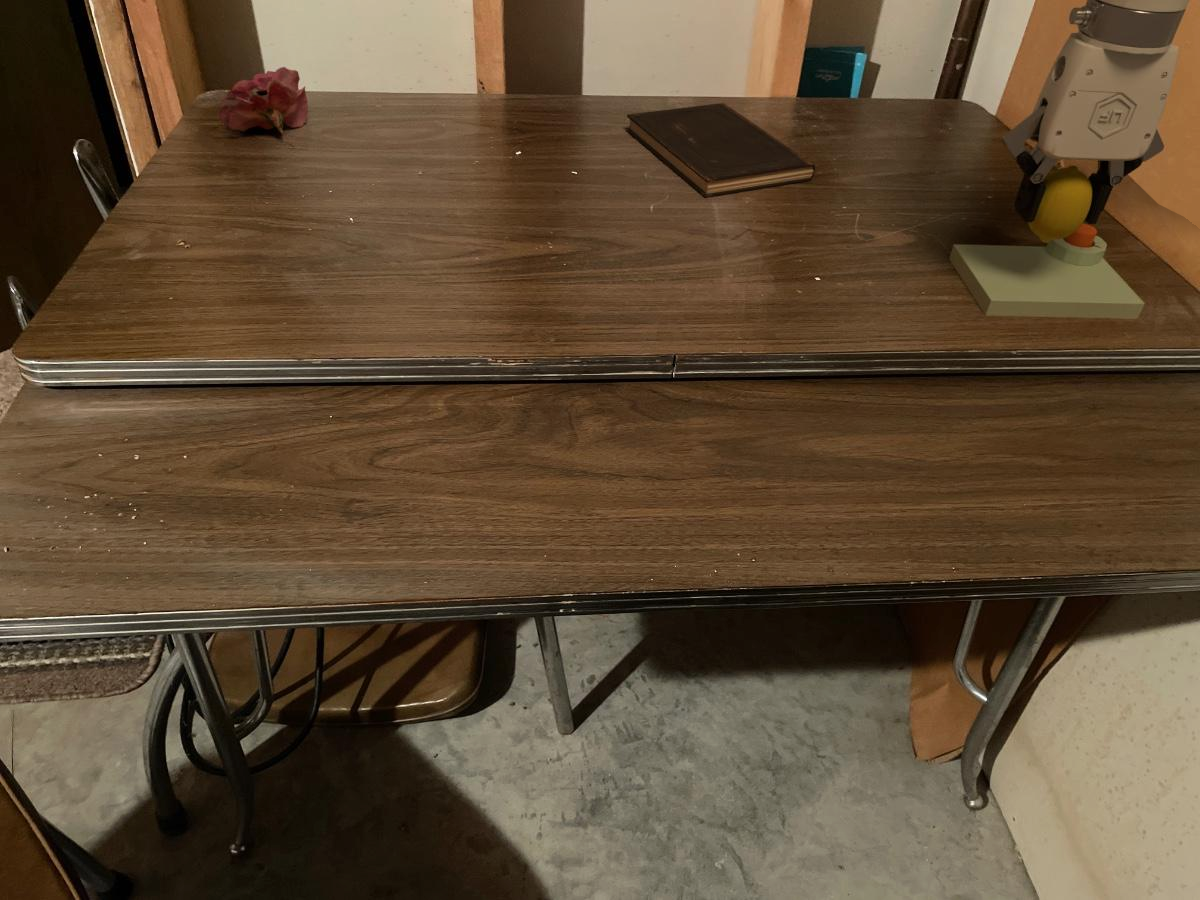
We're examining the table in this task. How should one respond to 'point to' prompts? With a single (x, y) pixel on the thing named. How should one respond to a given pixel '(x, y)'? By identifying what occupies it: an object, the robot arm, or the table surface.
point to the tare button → (1082, 236)
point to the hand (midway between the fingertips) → (1054, 215)
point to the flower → (266, 102)
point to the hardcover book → (718, 149)
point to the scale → (1045, 281)
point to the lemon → (1062, 204)
